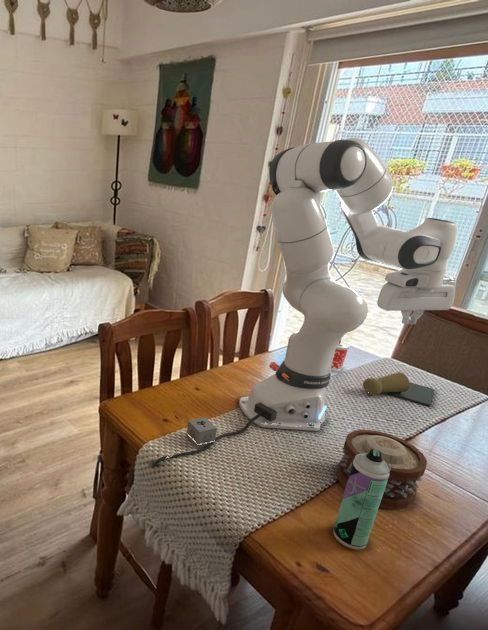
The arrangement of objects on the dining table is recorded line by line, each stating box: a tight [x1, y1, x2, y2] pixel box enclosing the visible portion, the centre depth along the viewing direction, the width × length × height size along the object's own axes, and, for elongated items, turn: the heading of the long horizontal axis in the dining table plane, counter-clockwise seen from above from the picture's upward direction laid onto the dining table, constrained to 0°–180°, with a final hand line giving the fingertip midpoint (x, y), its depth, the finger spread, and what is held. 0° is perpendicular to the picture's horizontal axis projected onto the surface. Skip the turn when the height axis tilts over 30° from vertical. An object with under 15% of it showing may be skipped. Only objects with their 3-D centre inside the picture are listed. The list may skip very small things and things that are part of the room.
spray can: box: [332, 449, 390, 551], centre depth 80 cm, size 6×6×20 cm
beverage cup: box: [330, 339, 351, 372], centre depth 146 cm, size 6×6×14 cm
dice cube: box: [185, 416, 218, 450], centre depth 111 cm, size 5×5×5 cm
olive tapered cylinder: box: [362, 371, 410, 396], centre depth 132 cm, size 6×6×11 cm
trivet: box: [381, 381, 435, 407], centre depth 134 cm, size 12×12×1 cm
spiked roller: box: [336, 429, 428, 510], centre depth 95 cm, size 15×11×15 cm
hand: (408, 323), depth 127 cm, fingers closed
